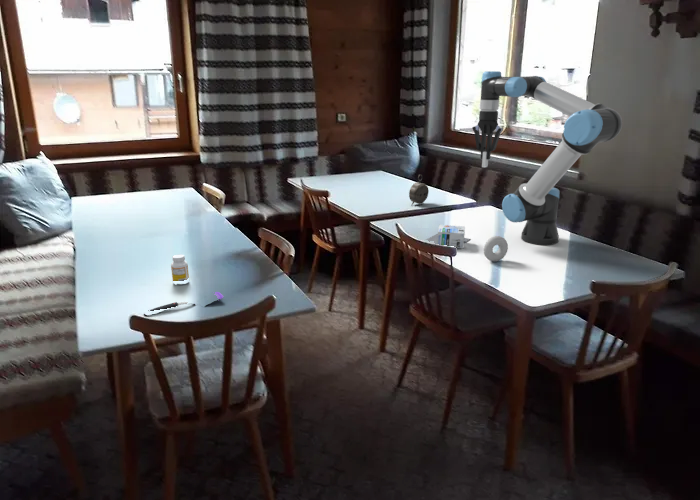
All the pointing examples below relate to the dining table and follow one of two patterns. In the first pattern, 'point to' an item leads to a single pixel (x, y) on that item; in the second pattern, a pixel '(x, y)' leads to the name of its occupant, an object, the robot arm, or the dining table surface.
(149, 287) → the dining table surface
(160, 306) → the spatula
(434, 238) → the mat
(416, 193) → the alarm clock
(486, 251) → the donut
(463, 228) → the light bulb box
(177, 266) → the supplement bottle
